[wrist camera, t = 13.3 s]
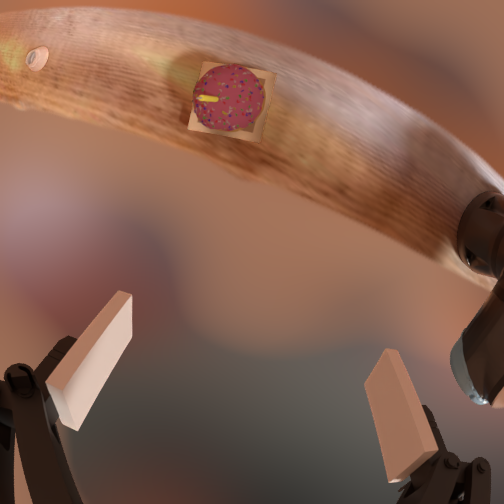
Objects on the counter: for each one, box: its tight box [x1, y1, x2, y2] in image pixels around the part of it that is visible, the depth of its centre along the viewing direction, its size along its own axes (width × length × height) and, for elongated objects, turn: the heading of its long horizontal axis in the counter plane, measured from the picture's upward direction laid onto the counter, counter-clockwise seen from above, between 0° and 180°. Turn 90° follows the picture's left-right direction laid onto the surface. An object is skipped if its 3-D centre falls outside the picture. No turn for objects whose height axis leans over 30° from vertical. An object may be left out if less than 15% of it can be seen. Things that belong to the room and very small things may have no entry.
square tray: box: [187, 61, 277, 143], centre depth 37 cm, size 10×10×3 cm
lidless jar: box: [25, 46, 49, 72], centre depth 34 cm, size 5×3×5 cm
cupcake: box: [192, 64, 266, 132], centre depth 30 cm, size 9×8×12 cm
